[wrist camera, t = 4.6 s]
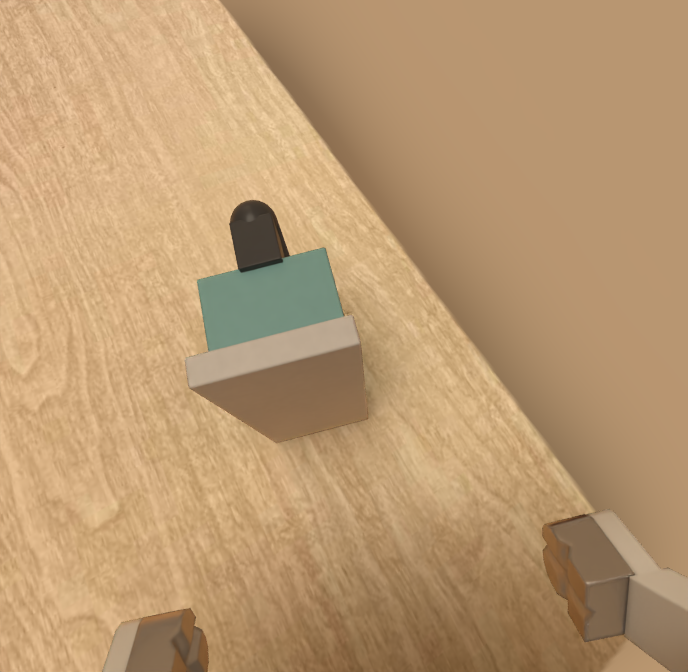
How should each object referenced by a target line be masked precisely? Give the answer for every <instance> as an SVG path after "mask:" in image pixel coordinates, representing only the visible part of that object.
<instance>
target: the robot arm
mask: <svg viewBox="0 0 688 672" xmlns="http://www.w3.org/2000/svg"><path fill="white" fill-rule="evenodd" d="M542 536H543V538H544V540H545V541H546V543H547V545H546V546H545V548H544V549H543V560H544V564H545V568H546V572H547V574H548V577H549V579H550V581H551V584H552V585H553V587H554V589H555V591H556V593H557V594H558V595H560V596H561V597H563V598H564V599H566V600H568V614H569V616H570V618H571V619H572V621H573V623H574V625H575V626H576V628H577V630H578V632H579V633H580V635H581V637H582V639H583V640H584V642H589V641H594V640H599V639H604V638H608V637H613V636H618V635H623V634H625V635H624V637H626V638H627V639H628V640H630V641H631V642H632V643H634V644H635V645H636V646H638V647H639V648H640V649H641V650H643V651H644V652H645V653H647V654H648V655H649V656H651V657H652V658H654V659H655V660H656V661H657V662H659V663H660V664H661V665H663V666H664V667H665V668H667V669H668V670H669V671H671V672H688V578H687V577H685V576H683V575H682V574H679V573H677V572H676V571H673V570H672V569H670V568H664V569H661V568H660V567H659V566H658V564H657V563H656V562H655V561H654V559H653V558H652V557H651V556H650V555H649V553H648V552H647V551H646V550H645V549H644V547H643V546H642V545H641V544H640V543H639V541H638V540H637V539H636V538H635V537H634V535H633V534H632V533H631V532H630V531H629V529H628V528H627V527H626V526H625V525H624V523H623V522H622V521H621V520H620V519H619V517H618V516H617V515H616V514H615V513H614V512H613V511H611V510H610V509H607V510H602V511H599V512H594V513H590V514H587V515H586V514H583V515H579V516H575V517H571V518H567V519H563V520H559V521H555V522H551V523H547V524H544V526H543V528H542ZM195 619H196V617H195V615H194V613H193V612H192V610H191V608H188V609H183V610H178V611H173V612H168V613H163V614H158V615H153V616H148V617H143V618H139V619H134V620H130V621H125V622H121V624H120V625H119V627H118V628H117V629H116V631H115V634H114V637H113V640H112V643H111V646H110V649H109V652H108V655H107V658H106V661H105V664H104V667H103V670H102V672H208V664H209V654H208V644H207V640H206V636H205V634H204V632H203V630H202V629H200V628H198V627H196V626H194V625H195Z"/></svg>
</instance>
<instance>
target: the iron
mask: <svg viewBox="0 0 688 672" xmlns="http://www.w3.org/2000/svg"><path fill="white" fill-rule="evenodd" d="M229 225H230V230H231V235H232V240H233V245H234V250H235V255H236V260H237V265H238V270H234V271H230V272H226V273H222V274H218V275H215V276H211V277H207V278H203V279H199V280H197V284H198V290H199V296H200V302H201V308H202V315H203V321H204V327H205V333H206V339H207V345H208V351H209V352H205V353H201V354H197V355H194V356H190V357H186V358H185V365H186V372H187V379H188V386H189V388H190V389H191V390H193V391H195V392H196V393H198V394H199V395H201V396H203V397H204V398H206V399H207V400H209V401H210V402H212V403H214V404H215V405H217V406H218V407H220V408H222V409H223V410H225V411H226V412H228V413H230V414H231V415H233V416H234V417H236V418H238V419H239V420H241V421H242V422H244V423H245V424H247V425H249V426H250V427H252V428H253V429H255V430H257V431H258V432H260V433H261V434H263V435H265V436H266V437H268V438H269V439H271V440H273V441H274V442H276V443H278V442H282V441H286V440H290V439H294V438H297V437H301V436H305V435H309V434H312V433H316V432H320V431H324V430H328V429H331V428H335V427H339V426H343V425H346V424H350V423H354V422H358V421H362V420H365V419H368V411H367V401H366V391H365V381H364V371H363V361H362V351H361V342H360V338H359V334H358V331H357V327H356V324H355V320H354V317H353V316H352V315H348V316H344V314H343V310H342V307H341V303H340V299H339V296H338V292H337V288H336V285H335V281H334V277H333V274H332V270H331V266H330V263H329V259H328V256H327V252H326V249H325V248H320V249H316V250H312V251H308V252H304V253H300V254H297V255H293V256H290V255H289V252H288V249H287V246H286V244H285V241H284V238H283V235H282V232H281V229H280V226H279V224H278V221H277V218H276V215H275V213H274V212H273V210H272V209H271V208H270V207H269V206H268V205H267V204H265V203H263V202H260V201H256V200H249V201H245V202H243V203H241V204H240V205H238V206H237V207H236V208H235V209H234V211H233V213H232V215H231V219H230V224H229Z"/></svg>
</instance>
